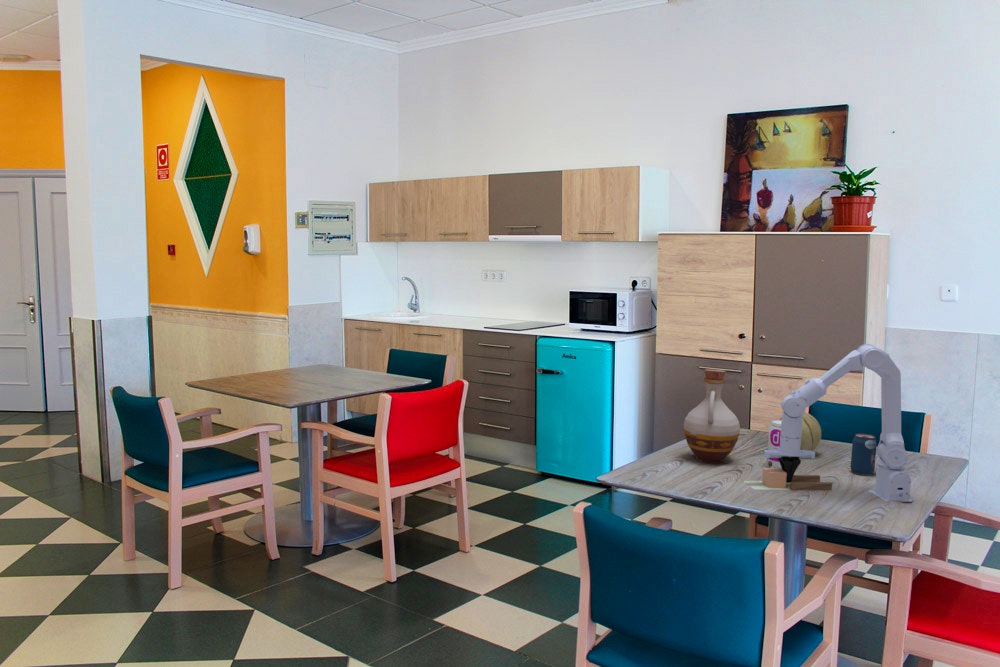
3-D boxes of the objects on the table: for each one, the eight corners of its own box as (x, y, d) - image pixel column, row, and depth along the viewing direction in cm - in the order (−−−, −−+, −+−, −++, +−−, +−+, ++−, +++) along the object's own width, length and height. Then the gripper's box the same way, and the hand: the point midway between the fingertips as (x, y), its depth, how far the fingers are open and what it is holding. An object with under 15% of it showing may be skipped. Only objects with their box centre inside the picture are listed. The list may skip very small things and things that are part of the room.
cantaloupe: (826, 453, 277) (829, 411, 275) (810, 461, 266) (813, 417, 264) (784, 445, 287) (787, 404, 285) (767, 453, 276) (770, 410, 274)
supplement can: (787, 473, 251) (790, 426, 249) (762, 468, 256) (765, 422, 255) (797, 468, 257) (801, 422, 255) (773, 463, 262) (776, 418, 261)
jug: (736, 471, 252) (742, 376, 249) (678, 464, 258) (683, 372, 254) (738, 456, 270) (744, 367, 267) (684, 450, 276) (689, 363, 273)
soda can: (876, 476, 250) (879, 439, 249) (852, 474, 252) (855, 437, 250) (871, 470, 257) (874, 434, 256) (848, 468, 258) (850, 432, 257)
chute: (831, 492, 233) (832, 483, 232) (754, 491, 231) (754, 482, 231) (817, 483, 241) (818, 475, 241) (743, 482, 240) (743, 474, 239)
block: (785, 488, 234) (786, 472, 233) (768, 487, 233) (769, 472, 233) (778, 482, 239) (779, 468, 238) (762, 482, 238) (763, 467, 238)
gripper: (808, 433, 239) (805, 478, 241) (761, 432, 238) (758, 477, 239) (819, 439, 232) (816, 485, 234) (770, 438, 231) (767, 484, 233)
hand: (787, 481), depth 236 cm, fingers closed
